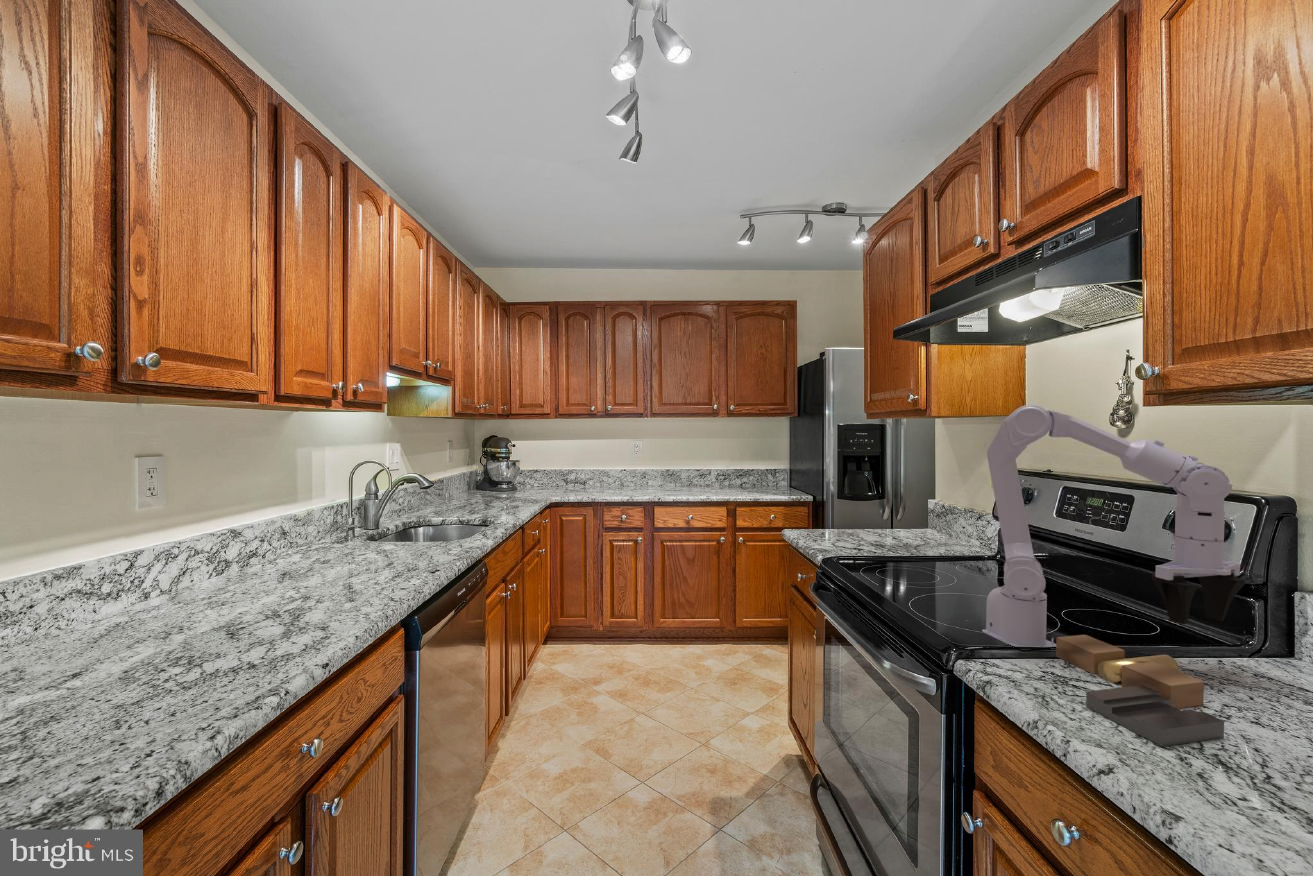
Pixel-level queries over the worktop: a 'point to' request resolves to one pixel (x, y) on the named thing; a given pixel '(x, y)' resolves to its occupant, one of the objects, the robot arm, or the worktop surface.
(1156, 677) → the beam
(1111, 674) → the axle
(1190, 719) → the v block
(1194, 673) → the worktop surface
